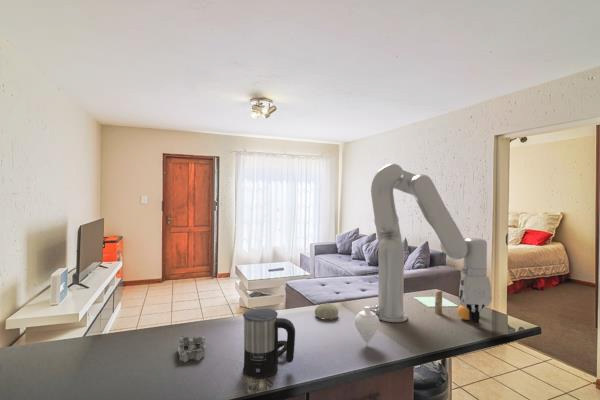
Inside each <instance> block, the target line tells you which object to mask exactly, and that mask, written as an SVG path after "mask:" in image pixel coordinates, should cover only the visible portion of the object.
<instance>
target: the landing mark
mask: <svg viewBox="0 0 600 400" xmlns="http://www.w3.org/2000/svg"><path fill="white" fill-rule="evenodd" d="M413 299H415V300H417V301H418V302H419V303H421V304H423V305H424V306H425V307H427V308H435V296H413ZM447 307H451V308H452V307H457V308H458V307H459V305H458V304H455V303H454V302H452V301H450V300H449V299H446V298H444V297H443V296H442V308H447Z"/></svg>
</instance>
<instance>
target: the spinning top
mask: <svg viewBox="0 0 600 400" xmlns="http://www.w3.org/2000/svg"><path fill="white" fill-rule="evenodd" d="M369 306H370V305H368V306H367V305H366V306H364V307H363V309H364V310H361V311H359V312H358V313H357V314H356V316H355V318H354V326H355V328H356V330H357V332H358V334H359V335H360V337H361V338H362V339H363V341H364V342H365V344H366V346H368V343H369V342H370V341H371V340H373V338H374V336H375V335H376V333H377V332H378V330H379V328H380V325H381V324H380V321H381V320H380V319H379V318H378V317H377V315H376V314H375V313H374V312H371V311H370V307H369Z"/></svg>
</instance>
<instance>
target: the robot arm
mask: <svg viewBox="0 0 600 400" xmlns="http://www.w3.org/2000/svg"><path fill="white" fill-rule="evenodd" d="M394 189H395V190H397V191H401V192H403V193H405V194H409V195H412V196H413V198H414V199H415V201H416V203H417V205H418V207H419V209H420V211H421V213H422V215H423V217H424V220H426V222H427V223H428V224H429V225H430V226H431V227H432V229H433V230H434V232H435V234H436V235H437V238H438V240H439V241H440V249H441V251H442V253H444V255H446V256H447V257H449V258H450V259H453V260H462V259H463V266H462V268H460V272H461V273H462V275H461V278H460V280H459V291H458V296H459V297H458V299H459V306H460V305H462V306H464V307H467V308H468V310H469V319H470V320H469V321H470V322H472V323H474V324H480V318H481V317H480V313H482V310H483V309H484V308H486V307H489V306H490V304H491V303H492V297H493V296H492V286H491V280H490V277H489V275H487V273H488V272H487V270H488V269H487V268H488V265H487V263H488V242H487V240H486V239H483V238H479V237H478V238H476V237H469V238H468V237H467V238H465V237H463V236H464V235H463V234H462V233H461V231H460V228H459V227H458V226H457V224H456V221H455V220H454V219H453V217H452V216H451V215H452V214H451V213H450V211H449V210H448V208H447V207H446V205H445V203H444V201H443V199H442V197H441V195H440V193H439V192H438V189H437V187H436V186H435V184H434V182H433V180H432V178H431V177H430V176H429V175H427V174H416V173H412V172H409V171H406V170H404V169H403V168H402V167H401V165H399V164H397V163H388V164H386V165H384V166H383V167H381V168H380V169H379V170H378V171H377V172H376V173H375V175H374V176H373V178H372V181H371V186H370V196H371V203H372V208H373V209H372V211H373V215H374V217H373V218H374V225H375V229H376V234H377V235H376V236H377V240H378V249H377V250H378V254H377V255H378V257H377V258H378V267H377V268H378V271H377V272H378V273H377V274H378V275H377V277H378V282H377V283H378V284H377V285H378V286H377V287H378V288H377V289H378V290H377V291H378V294H377V295H378V297H377V299H378V300H377V302H378V303H375V305H373V306H370V305H368V306H369V307H370V311H371V312H374V313H375V314H376V315H377V317H378V318H379V321H383V322H387V323H403V322H406V321H407V320H408V314H407V313H406V312H404V284H405V283H404V281H405V279H404V278H405V276H404V275H405V273H404V272H405V271H404V270H405V269H404V265H405V246H404V243H403V241H402V235H401V229H400V223H399V216H398V214H397V208H396V203H395V197H394ZM465 302H466V303H465Z"/></svg>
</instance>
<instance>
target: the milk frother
mask: <svg viewBox="0 0 600 400" xmlns="http://www.w3.org/2000/svg"><path fill="white" fill-rule="evenodd" d="M278 315H279V313H278V311H276V310H274V309H270V308H255V309H251V310H247V311H246V312H244V313H243V314H242V317H243V323H244V324H243V325H244V327H243V328H244V331H243V336H244V337H243V339H244V340H243V341H244V342H243V345H244V347H243V349H244V350H243V355H244V356H243V367H242V373H243V374H244V375H245V376H246V377H248V378H251V379H266V378H270V377H272V376H274V375H275V374H277V371H278V367H279V366H278V364H279V363H278V362H279V358H280V357H281V356H282V355H283V354H284V353H285V361H286V362H287V363H292V362H293V360H294V357H295V344H296V343H295V341H296V329H295V326H294V324H293V322H292V321H291V320H289V319H288V318H285V317H284V318H283V317H278ZM279 329H284V330H285V331H286V334H287V335H286V340H279ZM280 348H281V349H280Z"/></svg>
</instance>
